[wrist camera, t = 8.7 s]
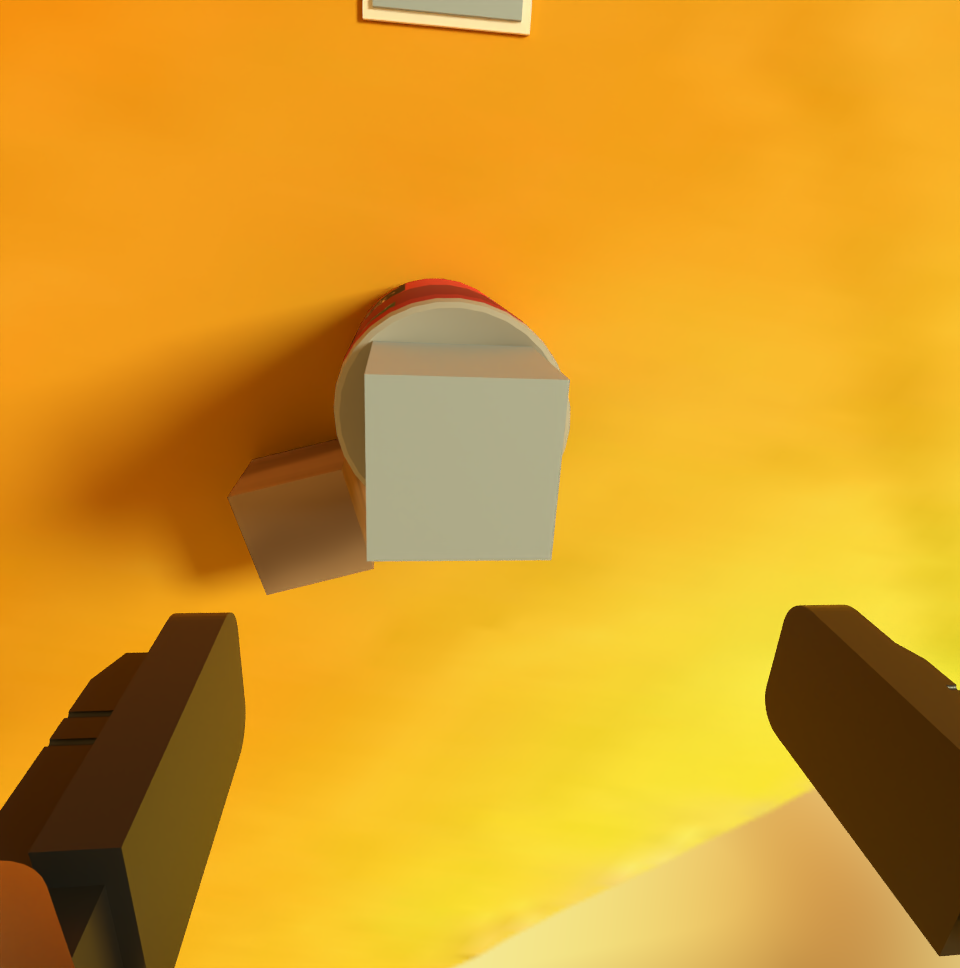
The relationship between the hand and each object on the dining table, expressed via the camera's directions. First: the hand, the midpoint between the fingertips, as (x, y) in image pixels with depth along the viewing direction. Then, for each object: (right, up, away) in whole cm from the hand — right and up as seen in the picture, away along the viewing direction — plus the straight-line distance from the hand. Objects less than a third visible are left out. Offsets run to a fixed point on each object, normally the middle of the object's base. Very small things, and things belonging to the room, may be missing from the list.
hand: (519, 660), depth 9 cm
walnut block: (-9, +2, +24) cm, 25 cm away
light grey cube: (-2, +5, +12) cm, 13 cm away
